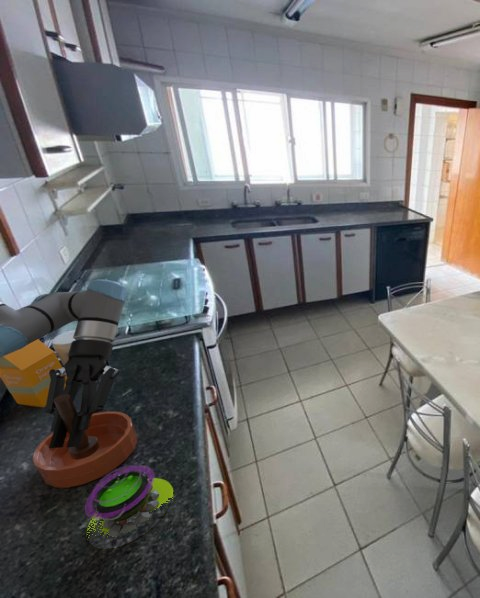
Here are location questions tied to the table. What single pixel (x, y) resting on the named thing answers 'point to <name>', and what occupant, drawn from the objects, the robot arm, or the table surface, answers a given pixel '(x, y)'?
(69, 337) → the supplement tub
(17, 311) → the robot arm
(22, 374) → the orange juice
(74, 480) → the bowl
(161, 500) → the toy cauldron
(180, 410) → the table surface
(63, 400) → the wooden masher
